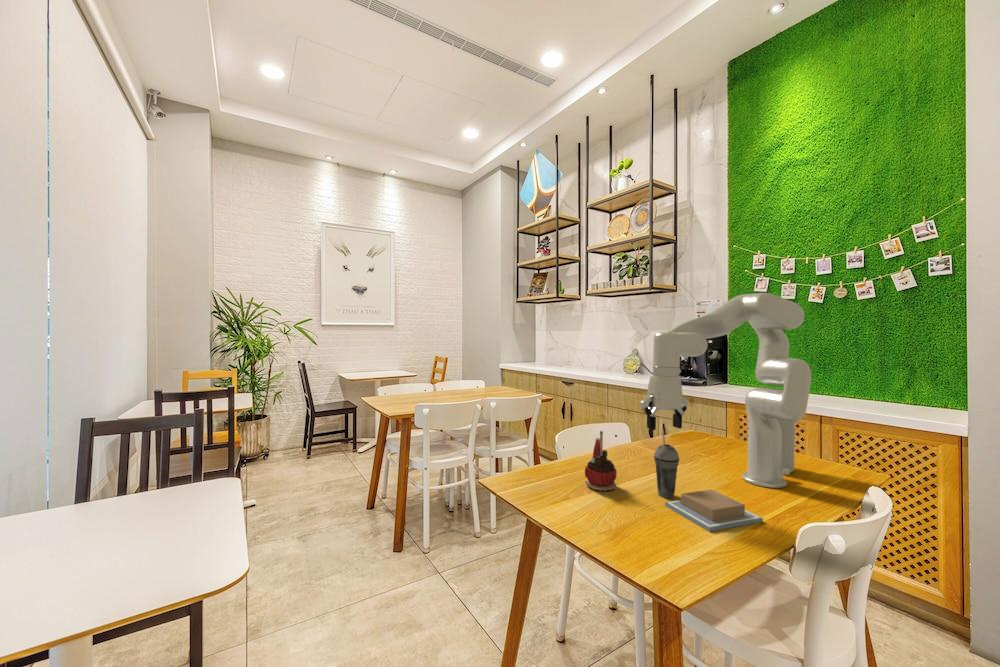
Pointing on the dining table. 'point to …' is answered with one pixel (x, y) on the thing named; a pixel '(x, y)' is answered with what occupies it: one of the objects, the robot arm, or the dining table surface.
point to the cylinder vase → (787, 444)
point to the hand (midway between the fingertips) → (664, 428)
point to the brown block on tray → (713, 510)
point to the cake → (600, 468)
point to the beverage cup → (666, 469)
